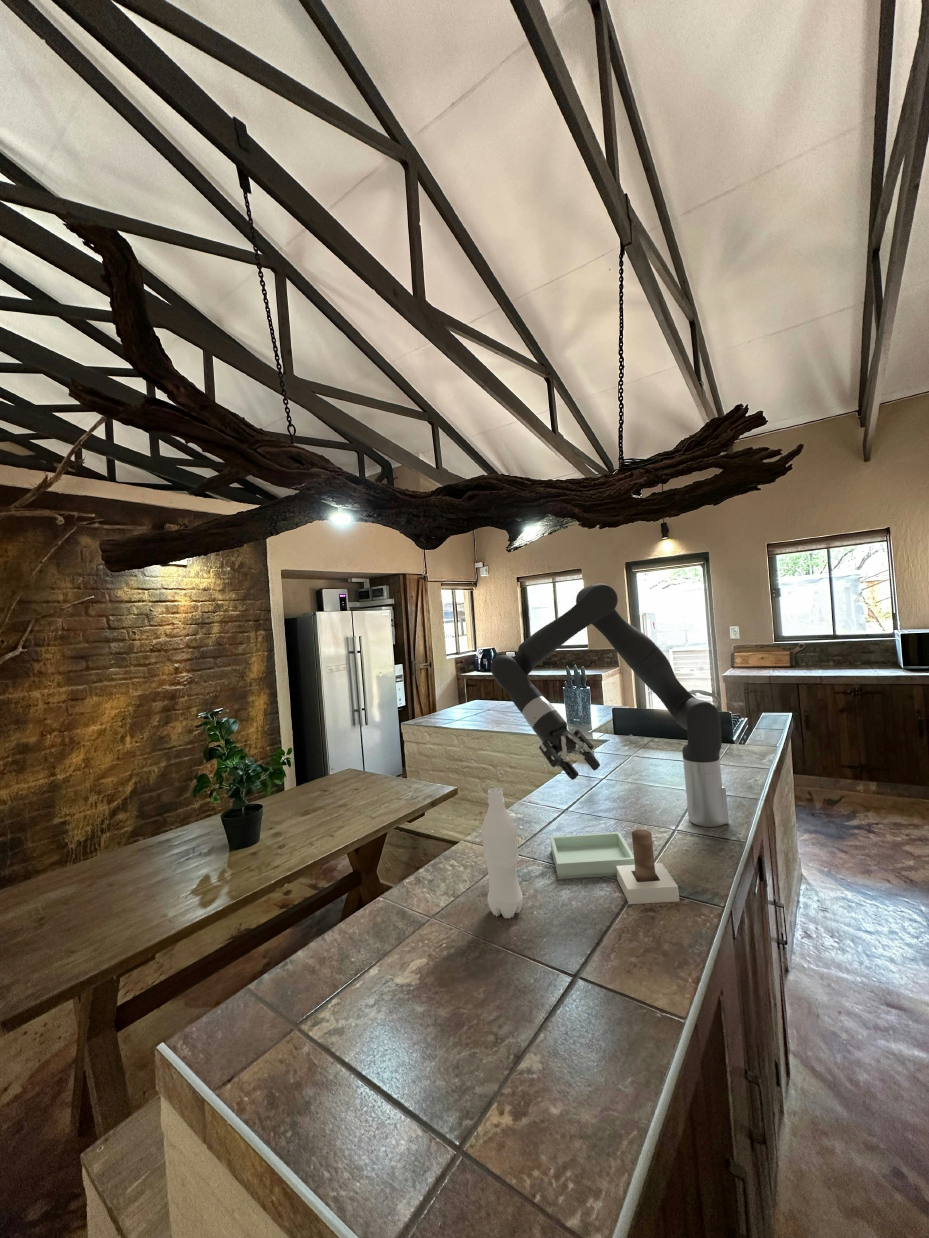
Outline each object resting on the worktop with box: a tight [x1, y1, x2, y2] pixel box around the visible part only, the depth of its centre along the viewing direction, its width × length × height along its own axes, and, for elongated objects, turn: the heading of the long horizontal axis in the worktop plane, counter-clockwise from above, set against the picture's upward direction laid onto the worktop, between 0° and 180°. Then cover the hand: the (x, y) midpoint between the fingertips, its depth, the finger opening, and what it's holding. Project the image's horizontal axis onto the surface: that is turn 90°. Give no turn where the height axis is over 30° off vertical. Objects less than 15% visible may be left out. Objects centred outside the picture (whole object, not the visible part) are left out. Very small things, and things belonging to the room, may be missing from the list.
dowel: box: [631, 828, 656, 882], centre depth 108 cm, size 4×4×12 cm
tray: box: [549, 831, 635, 880], centre depth 123 cm, size 18×15×4 cm
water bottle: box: [481, 787, 524, 919], centre depth 105 cm, size 7×7×25 cm
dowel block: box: [616, 862, 680, 905], centre depth 108 cm, size 10×10×3 cm
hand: (587, 772), depth 118 cm, fingers open, 8 cm apart
